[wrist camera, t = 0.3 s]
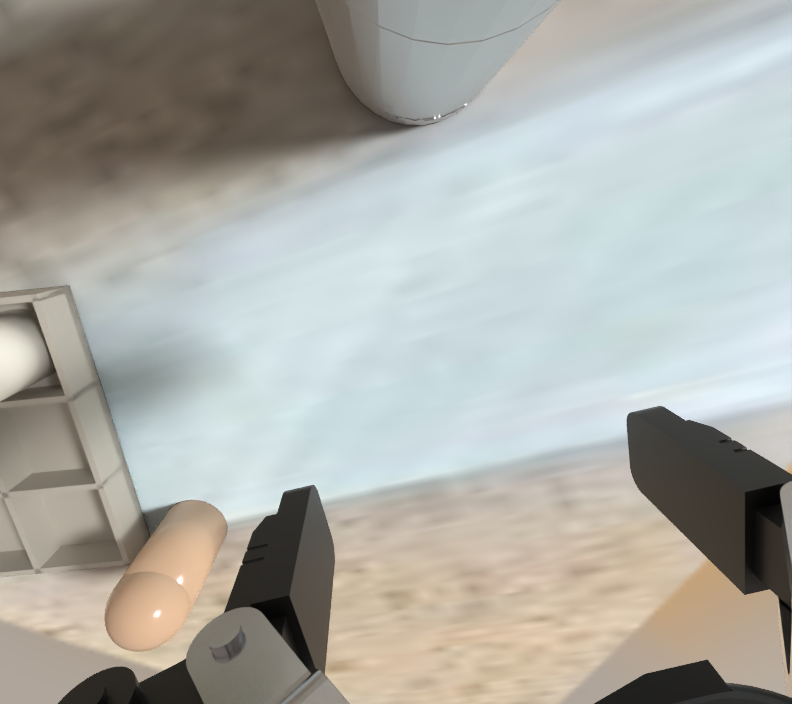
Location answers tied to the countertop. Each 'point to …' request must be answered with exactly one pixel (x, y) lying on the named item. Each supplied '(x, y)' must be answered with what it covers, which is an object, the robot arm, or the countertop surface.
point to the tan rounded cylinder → (165, 577)
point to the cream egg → (22, 352)
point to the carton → (63, 458)
